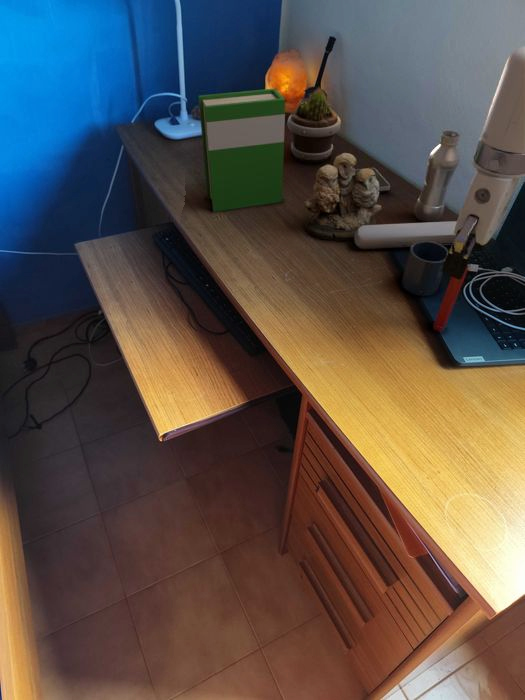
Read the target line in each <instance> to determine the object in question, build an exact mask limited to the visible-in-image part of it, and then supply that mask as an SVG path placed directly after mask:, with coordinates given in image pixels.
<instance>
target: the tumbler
mask: <svg viewBox="0 0 525 700" xmlns="http://www.w3.org/2000/svg"><path fill="white" fill-rule="evenodd" d="M409 248H410V249H409V252H408V256H407V260H406V263H405V267H404V270H403V274H402V276H401V286H402V287H403V289H405V290H406V291H407V292H408V293H411V294H412V295H416V296H421V297H427V296H431V295H433V294H436V292H437V291H438V289H439V288H440V284H441V282H442V279H443V276H444V274H443V273H442V268H443V266H444V263H445V260H446V257H447V255H448V252H449V250H448V248H447V247H446V246H445V245H441V244H438V243H435V242H431V241H419V242H417V243H414V244H413V245H412V246H411V247H409ZM435 289H436V290H435ZM433 290H434V291H433ZM420 291H422V292H420ZM428 291H431V292H428Z"/></svg>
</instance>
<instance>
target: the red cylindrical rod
mask: <svg viewBox="0 0 525 700" xmlns="http://www.w3.org/2000/svg"><path fill="white" fill-rule="evenodd" d="M469 268H470V267H469V264H468V265H467V268H466V270H465V273H464V275H463V277H462V279H460V280H459V279H456V278H454V277H451V276H450V279H449V283H448V284H447V288H446V290H445V293H444V296H443V299H442V301H441V303H440V307H439V309H438V312H437V314H436V317H435V319H434V322H435V323H434V322H433V325H432V328H433V330H434V331H436V332H443V331H444V330H445V329H446V326H447V323H448V321H449V318H450V316H451V313H452V311H453V308H454V306H455V304H456V301H457V298H458V295H459V293H460V291H461V288H462V286H463V283H464V280H465V279H466V275H467V273H468V270H469ZM437 326H439V327H437ZM444 326H445V327H444ZM440 327H443V328H440Z"/></svg>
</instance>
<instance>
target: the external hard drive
mask: <svg viewBox="0 0 525 700" xmlns="http://www.w3.org/2000/svg"><path fill="white" fill-rule="evenodd" d="M362 169H363V168H357V169H354V170H355V174H356V173H357V172H359V171H360V170H362ZM365 169H371V170H373V171H374V173H375V176H376V180H377V181H378V182H379V194H386V193H387V194H388V193H389V192H390V189H391V185H390V183H389V182H388V181H387V180H386V179H385V177H384V176H382V175H381V173H380V172H379V171H378V170H377V169H376V168H375V167H367V168H365Z"/></svg>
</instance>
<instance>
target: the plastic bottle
mask: <svg viewBox="0 0 525 700" xmlns="http://www.w3.org/2000/svg"><path fill="white" fill-rule="evenodd" d="M459 140H460V133H459V132H457V131H453V130H444V131H442V132H441V135H440V138H439V141H438V143H439V144H438V145H437V146H435V147H434V149H433V150H431V152H430V154H429V155H428V159H427V166H426V172H425V178H424V183H423V186H422V188H421V190H420V194H419V196H418V198H417V200H416V203H415V205H414V211H413V212H414V216H415V218H416V219H417V220H419V221H421V222H422V223H428V222H438V221H439V220H440V219H441V217H442V216H443V214H444V209H445V201H446V198H447V193H448V190H449V186H450V184H451V181H452V179H453V177H454V174H455V172H456V171H457V169H458V166H459V164H460V159H461V158H460V154H459V150H458V149H457V146H458V145H459V142H460V141H459Z"/></svg>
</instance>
